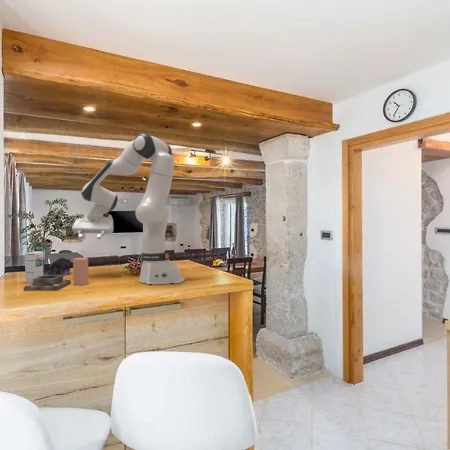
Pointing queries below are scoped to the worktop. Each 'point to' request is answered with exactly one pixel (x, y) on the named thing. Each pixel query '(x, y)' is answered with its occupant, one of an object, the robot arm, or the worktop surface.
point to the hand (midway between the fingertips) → (89, 238)
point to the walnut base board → (47, 283)
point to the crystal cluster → (58, 267)
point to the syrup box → (34, 265)
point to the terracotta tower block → (80, 271)
